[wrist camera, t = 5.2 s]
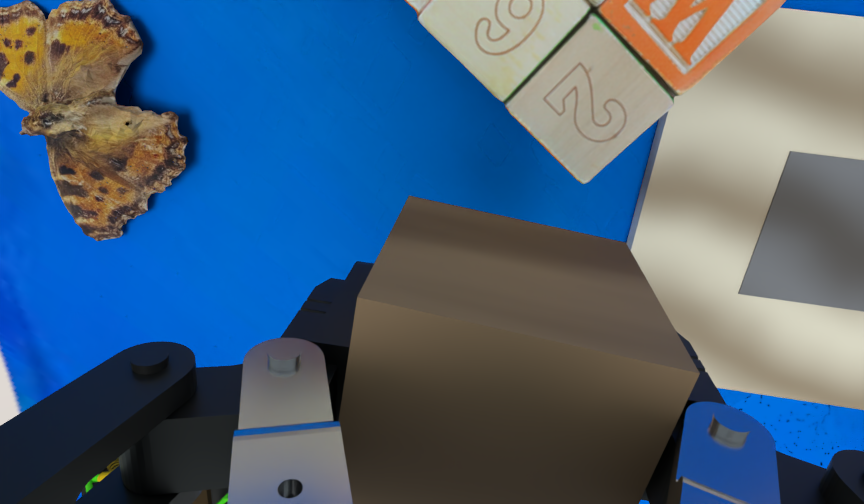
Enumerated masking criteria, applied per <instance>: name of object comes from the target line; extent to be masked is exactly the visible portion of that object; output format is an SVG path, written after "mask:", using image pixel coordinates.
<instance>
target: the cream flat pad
mask: <svg viewBox="0 0 864 504" xmlns="http://www.w3.org/2000/svg"><path fill="white" fill-rule="evenodd" d="M626 244H627V245H628V247H629V249H630V251H631V252H632V254H633V256H634V258H635V260H636V261H637V263H638V265H639V267H640V268H641V270H642V272H643V274H644V275H645V277H646V279H647V281H648V283H649V284H650V286H651V288H652V290H653V291H654V293H655V295H656V297H657V298H658V300H659V302H660V304H661V306H662V307H663V309H664V311H665V313H666V314H667V316H668V318H669V320H670V322H671V323H672V325H673V327H674V329H675V330H676V331H677V332H678V333H679V334H680V335H681V336H683V337H684V338H685V339H686V340H687V341H689V342H690V344H691V345H692V347H693V349H694V351H695V352H696V354H697V356H698V360H700V361H701V362H702V364H703V366H704V368H705V372H707V373H708V374H709V376H710V378H711V379H712V381H713V383H714V385H715V386H716V388H722V389H729V390H736V391H742V392H749V393H755V394H762V395H769V396H775V397H782V398H788V399H795V400H802V401H808V402H815V403H821V404H828V405H835V406H841V407H848V408H854V409H861V410H864V17H860V16H851V15H842V14H832V13H823V12H814V11H805V10H796V9H787V8H779V9H778V10H777V11H776V12H775V13H773V14H772V15H771V16H770V17H769V18H768V19H767V20H766V21H765V22H764V23H763V24H762V25H760V26H759V27H758V28H757V29H756V30H755V31H754V32H753V33H752V34H751V35H750V36H749V37H747V38H746V39H745V40H744V41H743V42H742V43H741V44H740V45H739V46H738V47H737V48H736V49H734V50H733V51H732V52H731V53H730V54H729V55H728V56H727V57H726V58H725V59H723V60H722V61H721V62H720V63H719V64H718V65H717V66H716V67H715V68H714V69H712V70H711V71H710V72H709V73H708V74H707V75H706V76H705V77H704V78H703V79H702V80H701V81H699V82H698V83H697V84H696V85H695V86H694V87H692V88H691V89H690V90H689V91H687V92H686V93H684V94H683V95H681V96H675V97H674V105H673V106H672V107H671V109H670V110H668V111H667V112H666V113H665V114H664V115H663V116H662V117H660V118H659V122H658V125H657V129H656V133H655V137H654V140H653V144H652V148H651V152H650V156H649V159H648V163H647V167H646V171H645V175H644V178H643V182H642V186H641V190H640V193H639V197H638V201H637V205H636V209H635V212H634V216H633V220H632V224H631V228H630V231H629V235H628V239H627V243H626Z"/></svg>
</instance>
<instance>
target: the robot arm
mask: <svg viewBox="0 0 864 504" xmlns="http://www.w3.org/2000/svg"><path fill="white" fill-rule="evenodd" d="M373 265H374V264H373V263H366V262H359V261H357V262H356V263H355V264H354V266H353V268H352V269H351V271H350V273H349V274H348V276H347V278H346V280H341V279H334V278H330V279H329V280H327V281H325V282H323V283H321V284H320V285H318V286H316V287H315V288H314V290H313V291H312V292H311V294H310V295H309V297H308V298H307V301H305V303H304V304H303V306H302V307H301V310H299V311H298V313H297V314H296V316H295V317H294V319H293V320H292V322H291V323H290V325H289V326H288V327H287V329H286V330H285V332H284V333H283V335H282V336H281V338H277V339H271V340H268V341H265V342H262V343H260V344H258V345H256V346H254V347H253V348H252V349H250V350H249V351H248V353H247V354H246V355H245V357H244V361H243V364H239V365H233V366H219V367H200V368H196V363H195V355H194V353H193V352H192V351H191V350H190V349H189V348H187V347H186V346H184V345H181V344H178V343H173V342H150V343H144V344H140V345H136V346H133V347H130V348H128V349H125V350H123V351H121V352H120V353H118V354H116V355H114V356H113V357H111V358H110V359H108V360H106V361H105V362H103V363H101V364H100V365H98V366H97V367H95V368H93V369H92V370H90V371H88V372H87V373H85V374H84V375H82V376H80V377H79V378H77V379H76V380H74V381H72V382H71V383H69V384H67V385H66V386H64V387H63V388H61V389H59V390H58V391H56V392H54V393H53V394H51V395H50V396H48V397H46V398H45V399H43V400H41V401H40V402H38V403H37V404H35V405H33V406H32V407H30V408H29V409H27V410H25V411H24V412H22V413H20V414H19V415H17V416H16V417H14V418H12V419H11V420H9V421H7V422H6V423H4V424H3V425H1V426H0V504H192V503H193V502H194V501H195V500H196V498H197V497H198V496H199V495H200V493H201V491H202V490H210V489H220V488H229V491H228V503H227V504H353V502H352V496H351V490H350V483H349V477H348V471H347V465H346V458H345V452H344V446H343V439H342V433H341V427H340V423H339V414H340V408H341V401H342V395H343V388H344V381H345V375H346V368H347V361H348V355H349V348H350V342H351V335H352V328H353V322H354V315H355V308H356V302H357V297H358V295H359V293H360V291H361V289H362V287H363V285H364V283H365V281H366V279H367V277H368V275H369V273H370V271H371V269H372V267H373ZM676 332H677V331H676ZM677 334H678V336H679V337H680V339H681V341H682V343H683V345H684V346H685V348H686V350H687V352H688V353H689V355H690V357H691V359H692V360H693V362H694V364H695V366H696V368H697V369H698V371H699V373H700V374H699V377H698V379H697V381H696V383H695V385H694V387H693V389H692V391H691V394H690V396H689V398H688V400H687V402H686V404H685V406H684V408H683V411H682V413H681V415H680V417H679V419H678V421H677V423H676V425H675V428H674V430H673V432H672V434H671V436H670V438H669V440H668V442H667V445H666V447H665V449H664V451H663V453H662V455H661V457H660V459H659V462H658V464H657V466H656V468H655V470H654V472H653V474H652V476H651V479H650V481H649V483H648V485H647V487H646V489H645V491H644V493H643V496H642V498H641V500H647V501H649V503H650V504H864V452H863V451H857V450H842V451H839V452H837V453H836V454H834V456H833V457H832V459H831V461H830V463H829V465H828V467H827V469H825V468H822V467H819V466H816V465H813V464H811V463H808V462H805V461H802V460H799V459H796V458H794V457H791V456H788V455H785V454H783V453H780V452H778V451H776V448H775V442H774V439H773V437H772V435H771V434H770V433H769V431H768V430H767V429H766V428H765V427H764V426H763V425H762V424H761V423H759V422H758V421H757V420H756V419H754V418H753V417H751V416H750V415H748V414H746V413H744V412H742V411H740V410H738V409H736V408H733V407H731V406H728V405H726V403H725V402H724V400H723V398H722V396H721V395H720V393H719V391H718V390H717V388H716V386H715V385H714V383H713V381H712V379H711V378H710V376H709V374H708V373H707V372H705V368H704V366H703V364H702V362H701V361H700V360H698V356H697V354H696V352H695V351H694V349H693V347H692V345H691V344H690V342H689V341H687V340H686V339H685V338H684V337H683V336H681V335H680V334H679V333H678V332H677ZM117 458H119V464H120V465H119V466H118V467H117V468H115V469H114V470H113V471H112V472H111V473H109V474H108V475H107V476H106V477H105V478H103V479H102V480H101V481H100V482H99V483H98V484H96V485H95V486H94V487H93V488H92V489H90V490H89V491H88V492H87V493H86V494H84V495H83V496H82V497H81V498H80V499H78V500H77V498H78V496H79V494H80V493H81V491H82V490H83V488H84V487H85V486H86V485H87V483H88V482H89V481H90V480H92V479H93V478H94V477H95V476H96V475H97V474H99V473H100V472H101V471H102V470H104V469H105V468H106V467H107V466H108V465H110V464H111V463H112V462H113V461H115V460H116V459H117ZM76 500H77V501H76Z"/></svg>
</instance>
